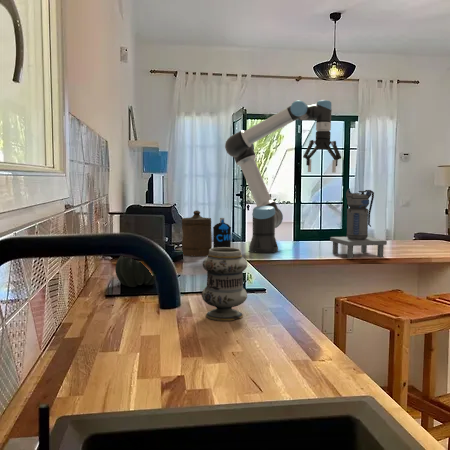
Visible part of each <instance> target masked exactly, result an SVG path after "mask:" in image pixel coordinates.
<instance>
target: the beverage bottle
mask: <svg viewBox="0 0 450 450" xmlns="http://www.w3.org/2000/svg"><path fill="white" fill-rule="evenodd" d="M374 195H375V192H374V191H373V190H372V189H365V190H358V192H351V188H347V190H346V192H345V198H346V201H347V206H348V208H347V210H346V211H347V212H346V215H347V216H346V218H347V219H346V220H347V221H346V237H347V238H349V239H355V240H363V239H366V238H367V237H369V236H368V235H369V233H368V229H369V227H370V228H372V226H371V212H372V207H373V203H374V198H375V196H374ZM370 198H371V200H370ZM368 206H369V208H368ZM368 226H369V227H368Z"/></svg>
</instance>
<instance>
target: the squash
mask: <svg viewBox="0 0 450 450" xmlns="http://www.w3.org/2000/svg"><path fill="white" fill-rule="evenodd" d="M114 269H115V275H116V277H117V279H118V281H119V282H120V284H122V285H123V286H124V287H131V288H135V287H138V285H139V286H141V285H145V286H152V285H154V284H155V283H154V279H153V277H152V275H151V273H150V272H149V270H148V269H147V268H146V267H145V266H144V265H143V264H142V263H141V262H139V261H137V260H134V259H132V258H128V257H123V256H121V255H120V256H119V257H118V258H117V261H116V263H115V268H114Z"/></svg>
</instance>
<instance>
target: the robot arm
mask: <svg viewBox="0 0 450 450" xmlns="http://www.w3.org/2000/svg"><path fill="white" fill-rule="evenodd" d="M332 111H333V110H332V101H330V100H327V99H321V100H318V101H317V102H316V104H311V105H308V104H307V103H306V102H304V101H302V100H299V99H298V100H295V101H293V102H292V103H291V105H289V106H288V107H286V108H285V109H282V110H280V111H279V112H277V113H275V114H273V115H271V116H269V117H268V118H266V119H265V120H262V121H261V122H258V123H257V124H255V125H253V126H251V127H250V128H248V129H246V130H243V129H241V130H240V131H238V132H236V133H234V134H233V135H230V136H229V137H228V138H227V139H226V141H225V143H224V148H225V152H226V153H227V154H228V156H230V157H233V159H234V162H235V163H236V165H237V166H240V169H241V171H242V174H243V176H244V178H245V181H246V183H247V186H248V188H249V191H250V192H251V195H252V198H253V199H254V202H255V205H256V206H255V207H253V208H252V214H251V215H252V235H251V236H252V237H251V240H250V243H249V246H248V252H251V253H258V254H260V253H261V254H270V253H277V252H279V246H278V243H277V239H276V237H275V236H276V233H275V232H276V229H277V228H278V227H279V226H280V225H281V224H282V223H283V218H284V215H283V211H282V210H281V209H280V208H279V207H278V205H277V203H276V201H275V200H273V199H272V198H271V195H270V193H269V191H268V188H267V187H266V184H265V182H264V181H265V180H264V179H263V176H262V174H261V171H260V169H259V167H258V165H257V162H256V157H257V155H256V152H255V144H254V143H256V142H258V141H260V140H261V139H263V138H265V137H267V136H268V135H271V134H273V133H274V132H276V131H278V130H280V129H282V128H284V127H285V126H287V125H289V124H291V123H293V122H295V121H310V120H311V121H312V120H314V121H315V130H316V132H315V140H314V139H310V140H309V142H308V146H307V148H306V150H305V152H304V153H303V155H302V158H303V159H305V160H306V161H305V162H306V166H307V172H308V173H312V159H311V158H312V157H313V156H314V155H315V153H317V151H318V150H326V151H327V152H328V153H329V155H330V156H331V157H332V162H331V163H332V165H331V166H332V169H331V173H333V174H334V173H337V172H336V171H337V170H336V168H337V167H338V161H339V160H340V159H342V156H341V153H340V151H339V149H338V145H337V140H333V141H331V128H332ZM313 145H315V146H314V148H313V149H312V147H313ZM330 145H331V146H332V148H331V146H330Z"/></svg>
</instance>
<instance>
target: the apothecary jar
mask: <svg viewBox="0 0 450 450" xmlns="http://www.w3.org/2000/svg"><path fill="white" fill-rule="evenodd" d="M247 267H248V261H247V260H246V259H245V257H243V255H242V250H241V249H240V248H237V247H218V248H213V247H212V248H211V249H210V250H209V254H208V256H205V258H204V259H203V261H202V268H203V269H204V270H205V271H206V274H207V277H206V287H204V289H203V290H202V292H201V293H202V294H201V298H202V300H203V301H204V302H205V303H206V304H207V305H209V306H212V307H215V308H214V309H212V310H209V311H208V312H207V313H205V317H206V318H207V319H210V320H214V321H220V322H230V321H234V320H235V321H236V320H237V319H238V320H240V319H242V318H243V316H244V315H243V313H242V312H241V311H238V310H237V309H235V307H239V306H240V305H242V304H244V303H245V302H246V300H247V298H248V293H247V290H246V289H245V288H244V285H243V282H244V281H243V273H244V271H245V270H246V269H247Z"/></svg>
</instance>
